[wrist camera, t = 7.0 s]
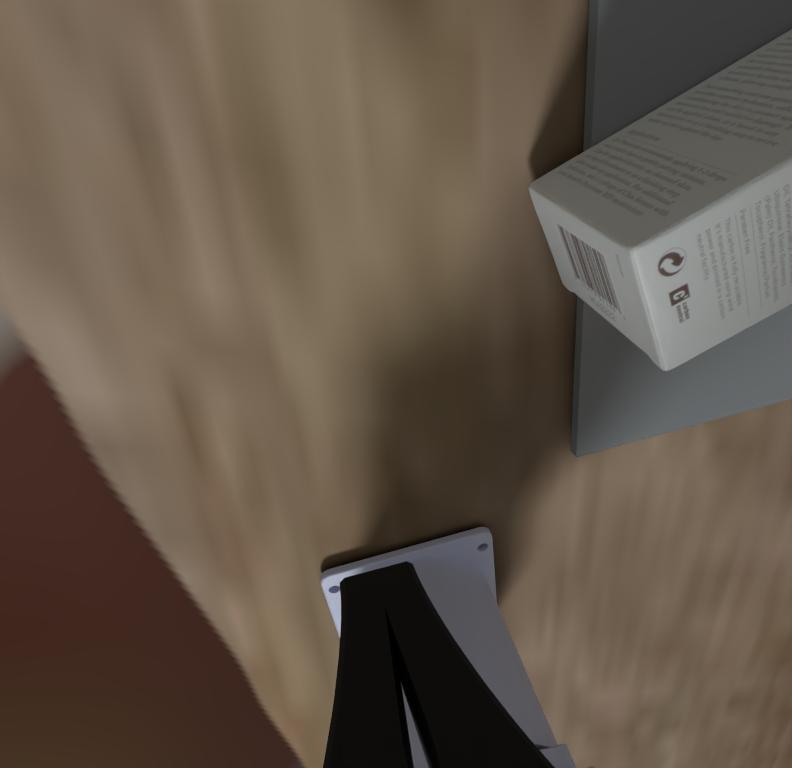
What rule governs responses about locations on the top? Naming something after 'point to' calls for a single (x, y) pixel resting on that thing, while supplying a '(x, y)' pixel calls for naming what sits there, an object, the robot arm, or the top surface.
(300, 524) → the top surface
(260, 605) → the top surface
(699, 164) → the skincare box
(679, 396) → the mat
